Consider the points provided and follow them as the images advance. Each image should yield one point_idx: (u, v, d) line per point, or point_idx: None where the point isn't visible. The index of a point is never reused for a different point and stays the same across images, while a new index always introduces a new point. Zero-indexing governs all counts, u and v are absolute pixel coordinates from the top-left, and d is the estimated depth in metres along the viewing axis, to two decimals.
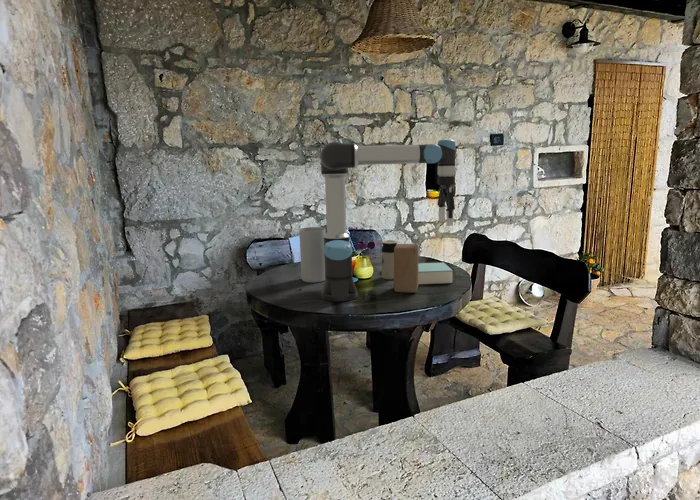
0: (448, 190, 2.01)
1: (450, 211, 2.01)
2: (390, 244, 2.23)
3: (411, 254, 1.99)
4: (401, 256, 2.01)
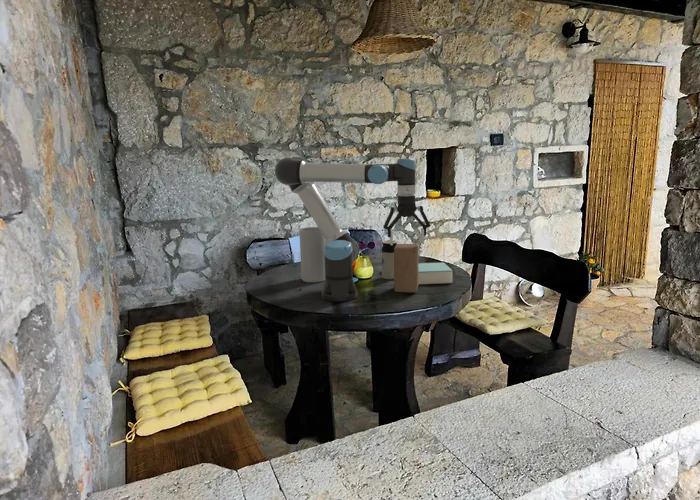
0: (390, 209, 2.01)
1: None
2: None
3: (411, 254, 1.99)
4: (401, 256, 2.01)
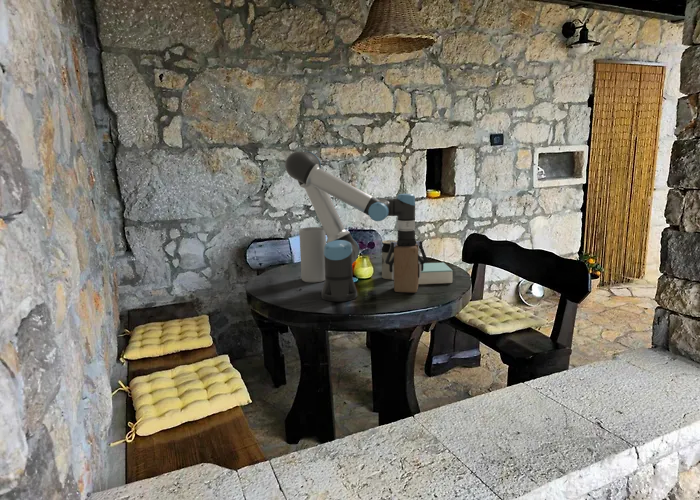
0: (390, 244, 2.04)
1: (389, 265, 2.06)
2: None
3: (411, 254, 1.99)
4: (401, 256, 2.01)
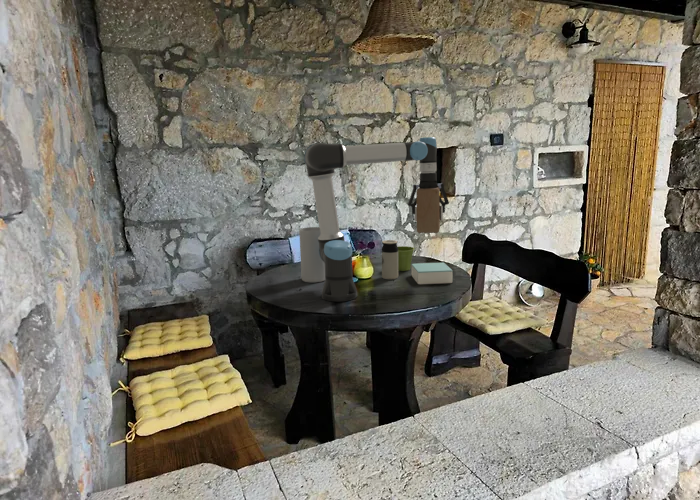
0: (413, 187, 2.13)
1: None
2: (390, 244, 2.23)
3: (433, 194, 2.08)
4: (423, 197, 2.09)
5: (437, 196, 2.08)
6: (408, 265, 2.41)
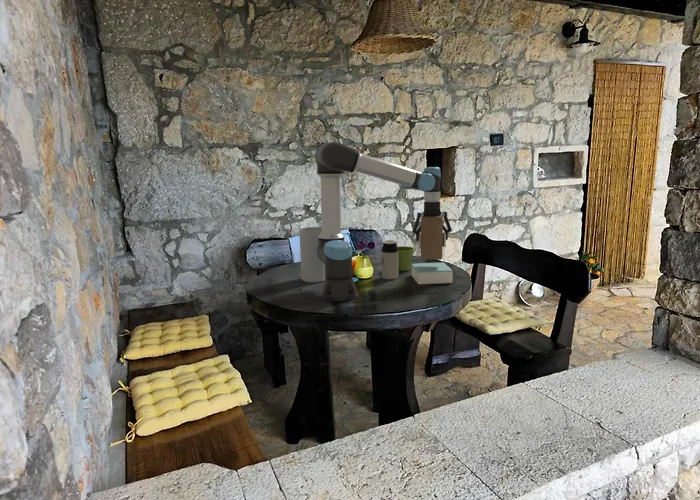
0: (417, 214, 2.19)
1: None
2: (390, 244, 2.23)
3: (437, 223, 2.14)
4: (427, 225, 2.15)
5: (441, 224, 2.14)
6: (408, 265, 2.41)
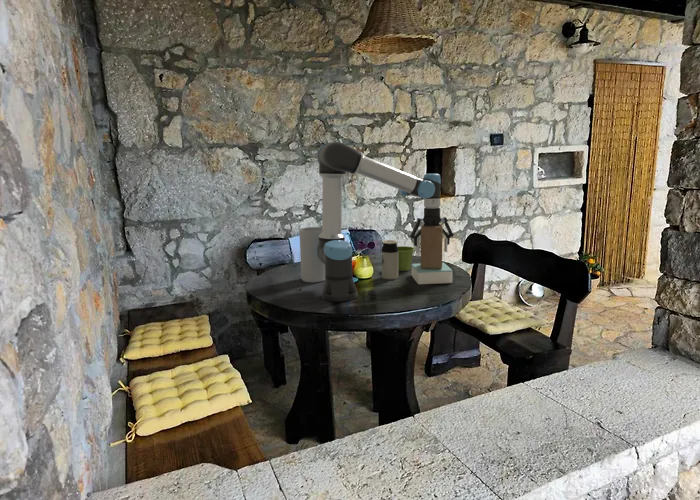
0: (417, 220, 2.19)
1: None
2: (390, 244, 2.23)
3: (437, 232, 2.15)
4: (427, 235, 2.16)
5: (441, 234, 2.15)
6: (408, 265, 2.41)
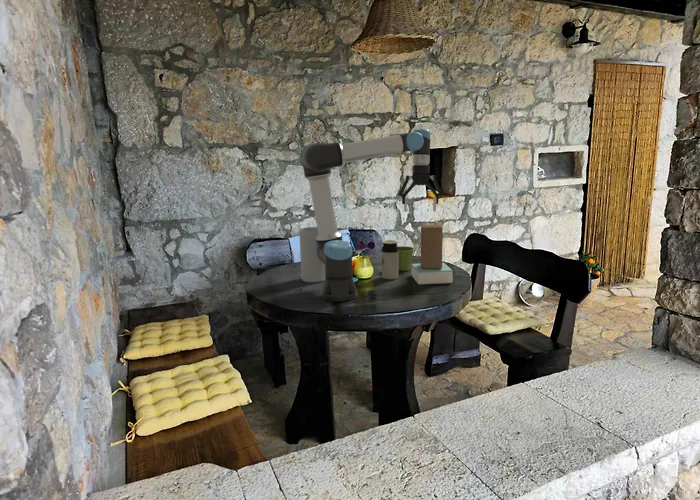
0: (405, 177, 2.14)
1: (402, 197, 2.15)
2: (390, 244, 2.23)
3: (437, 232, 2.15)
4: (427, 235, 2.16)
5: (441, 234, 2.15)
6: (408, 265, 2.41)
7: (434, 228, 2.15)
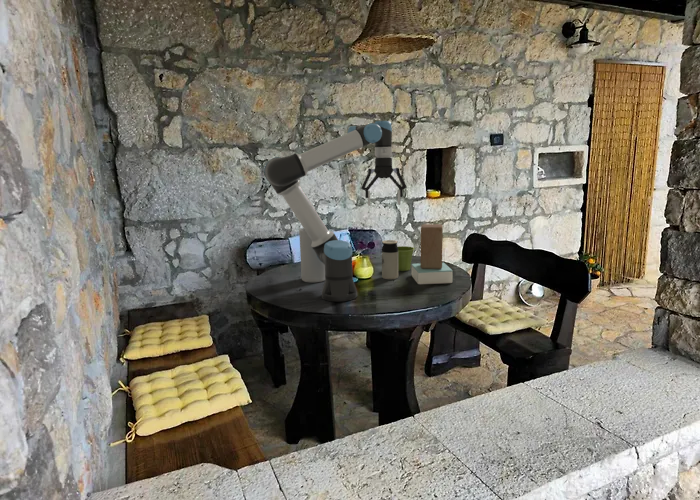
0: (368, 171, 2.10)
1: (365, 191, 2.11)
2: (390, 244, 2.23)
3: (437, 232, 2.15)
4: (427, 235, 2.16)
5: (441, 234, 2.15)
6: (408, 265, 2.41)
7: (434, 228, 2.15)
